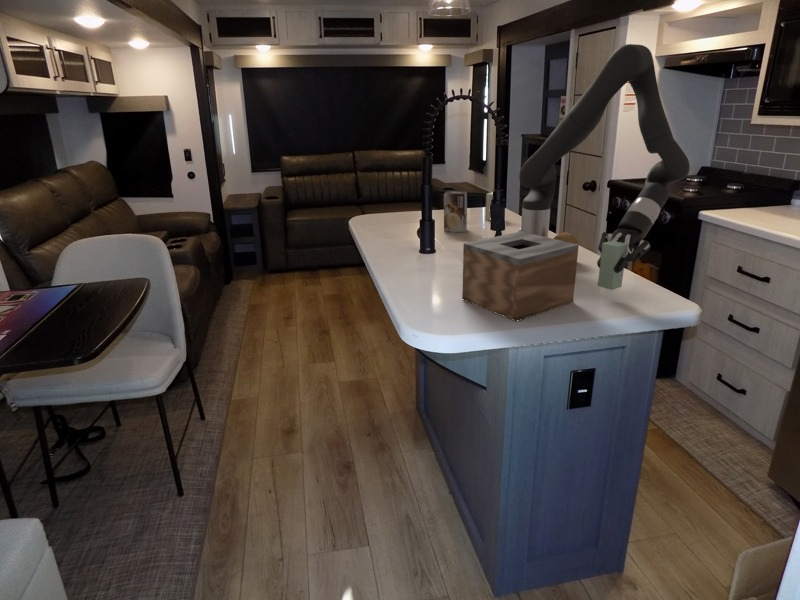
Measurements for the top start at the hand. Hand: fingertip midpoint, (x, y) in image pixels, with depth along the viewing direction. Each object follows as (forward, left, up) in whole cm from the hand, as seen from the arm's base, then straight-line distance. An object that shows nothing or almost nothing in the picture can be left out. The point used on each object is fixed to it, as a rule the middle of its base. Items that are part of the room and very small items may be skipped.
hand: (607, 268), depth 144 cm
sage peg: (0, +2, -5) cm, 6 cm away
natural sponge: (-31, +22, -9) cm, 39 cm away
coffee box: (-90, +25, -9) cm, 94 cm away
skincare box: (-96, +53, -9) cm, 110 cm away
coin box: (-14, -19, -9) cm, 25 cm away
